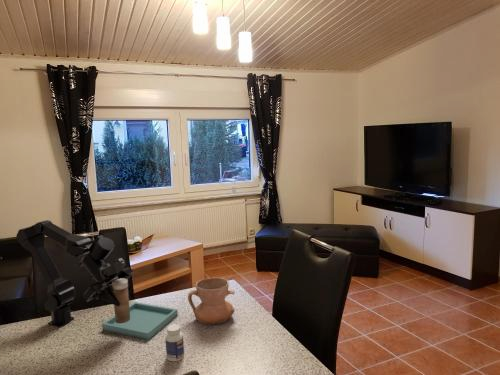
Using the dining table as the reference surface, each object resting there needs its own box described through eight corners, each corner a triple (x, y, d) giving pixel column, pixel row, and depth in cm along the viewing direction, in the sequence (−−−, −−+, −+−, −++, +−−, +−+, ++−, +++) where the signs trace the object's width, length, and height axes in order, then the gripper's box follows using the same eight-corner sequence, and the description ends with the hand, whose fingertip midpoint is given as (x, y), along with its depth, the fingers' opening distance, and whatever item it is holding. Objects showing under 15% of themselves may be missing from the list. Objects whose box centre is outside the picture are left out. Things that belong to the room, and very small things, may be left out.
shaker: (111, 322, 122) (108, 283, 120) (122, 315, 127) (119, 277, 125) (123, 324, 120) (120, 285, 119) (133, 317, 125) (130, 279, 123)
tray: (102, 330, 128) (101, 323, 128) (135, 307, 145) (135, 302, 145) (148, 340, 121) (148, 333, 121) (177, 315, 138) (177, 309, 137)
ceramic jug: (239, 310, 140) (237, 275, 138) (232, 329, 126) (230, 291, 124) (195, 309, 143) (193, 275, 141) (183, 328, 129) (180, 290, 127)
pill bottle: (180, 362, 108) (178, 332, 107) (163, 361, 109) (161, 331, 108) (186, 352, 113) (185, 323, 112) (171, 350, 115) (169, 322, 113)
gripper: (86, 262, 114) (116, 300, 111) (127, 245, 131) (154, 278, 128) (70, 283, 118) (99, 320, 115) (112, 264, 135) (138, 296, 132)
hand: (124, 302), depth 122 cm, fingers closed on shaker, 5 cm apart
